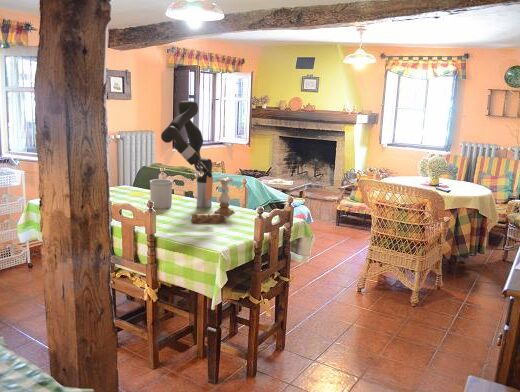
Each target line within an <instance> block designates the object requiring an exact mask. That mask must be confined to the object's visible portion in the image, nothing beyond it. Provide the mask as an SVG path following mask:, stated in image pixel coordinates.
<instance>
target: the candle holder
mask: <svg viewBox="0 0 520 392" xmlns="http://www.w3.org/2000/svg"><path fill="white" fill-rule="evenodd" d="M216 181H217V182H220V184H221V187H220V190H221V193H220V196H219V198H218V202H219V203H220V204H219V205H218V206H219V208H218V209H216V210H215V211H214V213H213V214H224V217H230V216H233V214H236V212H235V211H234V209H231V208H230V204H229V203H230V201H231V197H230V196H229V194H228V191H229V187H228V185H229V183H230V182H233V181H234V178H233V177H217V178H216Z"/></svg>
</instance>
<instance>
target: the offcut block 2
mask: <svg viewBox="0 0 520 392" xmlns="http://www.w3.org/2000/svg"><path fill="white" fill-rule="evenodd" d="M208 214H209V218H220V214H214V213H208Z"/></svg>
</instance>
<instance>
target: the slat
mask: <svg viewBox="0 0 520 392" xmlns="http://www.w3.org/2000/svg"><path fill="white" fill-rule="evenodd" d="M213 182H214V176H213V175H212V177H211V178H210V177H209V176H207V181H206V197H205V199H206V200H211V201H212V197H213Z"/></svg>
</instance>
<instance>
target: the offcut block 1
mask: <svg viewBox="0 0 520 392" xmlns="http://www.w3.org/2000/svg"><path fill="white" fill-rule="evenodd" d="M208 214H209V213H197V218H208Z"/></svg>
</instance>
